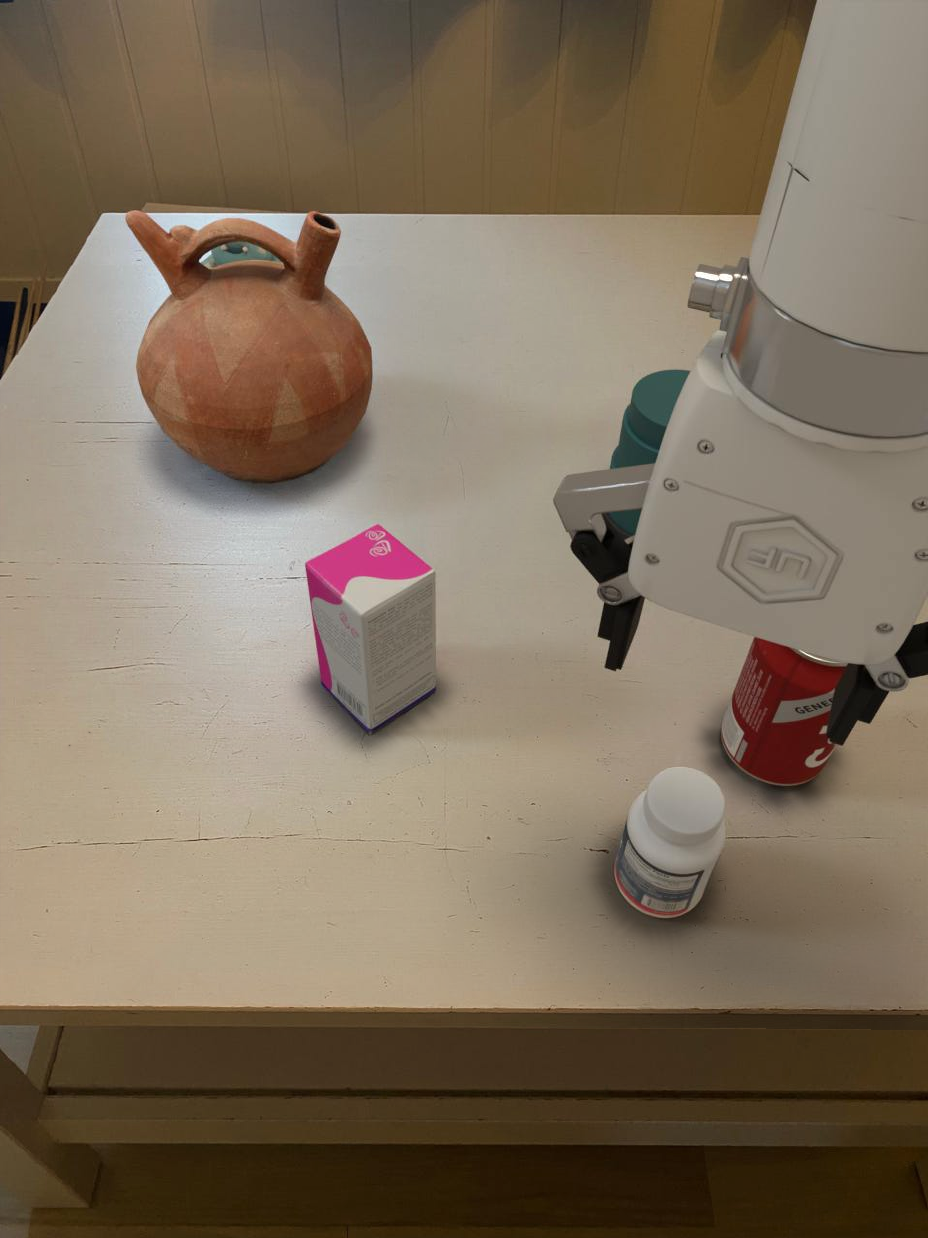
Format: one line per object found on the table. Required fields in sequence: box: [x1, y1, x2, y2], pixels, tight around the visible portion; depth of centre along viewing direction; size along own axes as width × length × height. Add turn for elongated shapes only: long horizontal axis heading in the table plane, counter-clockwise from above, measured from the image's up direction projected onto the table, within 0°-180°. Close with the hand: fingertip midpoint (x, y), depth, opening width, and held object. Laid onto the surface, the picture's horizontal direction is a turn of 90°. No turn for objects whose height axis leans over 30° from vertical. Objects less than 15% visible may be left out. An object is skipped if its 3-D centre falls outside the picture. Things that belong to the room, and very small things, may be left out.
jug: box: [124, 209, 374, 484], centre depth 73 cm, size 18×18×20 cm
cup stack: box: [601, 368, 691, 540], centre depth 72 cm, size 9×9×11 cm
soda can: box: [720, 636, 848, 787], centre depth 56 cm, size 7×7×12 cm
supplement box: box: [304, 523, 437, 735], centre depth 59 cm, size 6×6×12 cm
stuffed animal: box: [200, 242, 282, 269], centre depth 95 cm, size 11×7×12 cm
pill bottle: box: [613, 766, 727, 919], centre depth 51 cm, size 5×5×9 cm
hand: (726, 682), depth 41 cm, fingers open, 9 cm apart
